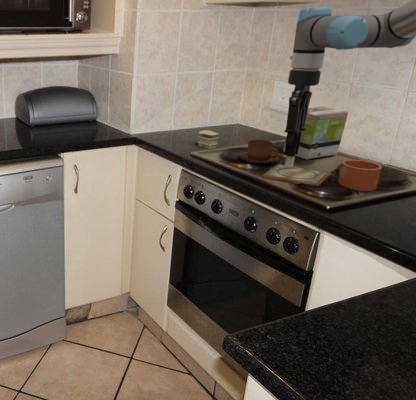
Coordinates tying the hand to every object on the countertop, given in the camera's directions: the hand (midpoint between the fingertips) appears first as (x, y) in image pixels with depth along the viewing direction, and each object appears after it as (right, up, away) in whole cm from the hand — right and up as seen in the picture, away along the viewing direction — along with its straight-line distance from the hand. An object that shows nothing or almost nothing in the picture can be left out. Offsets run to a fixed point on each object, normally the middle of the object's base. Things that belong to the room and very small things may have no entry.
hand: (290, 154), depth 136 cm
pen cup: (+16, -9, -5) cm, 19 cm away
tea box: (+19, +2, +25) cm, 31 cm away
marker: (0, -3, +1) cm, 3 cm away
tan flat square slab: (+3, -6, +3) cm, 7 cm away
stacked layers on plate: (-13, +5, +34) cm, 37 cm away
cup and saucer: (-2, -1, +18) cm, 18 cm away
